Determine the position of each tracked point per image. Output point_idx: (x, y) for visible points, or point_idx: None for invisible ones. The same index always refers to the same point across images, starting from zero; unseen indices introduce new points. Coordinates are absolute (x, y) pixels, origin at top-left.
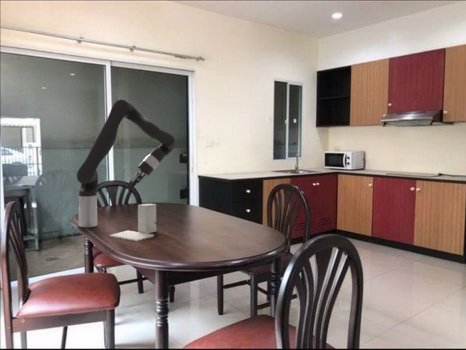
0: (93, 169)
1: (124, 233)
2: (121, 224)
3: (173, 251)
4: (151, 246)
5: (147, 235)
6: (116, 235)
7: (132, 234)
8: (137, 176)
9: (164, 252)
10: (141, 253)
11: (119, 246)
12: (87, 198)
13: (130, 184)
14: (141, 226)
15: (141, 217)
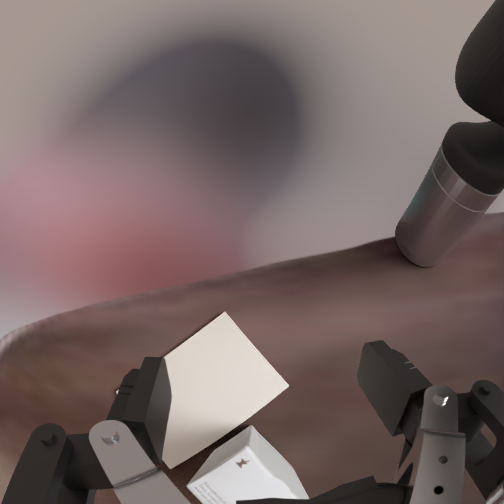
0: (500, 51)
1: (232, 367)
2: (435, 355)
3: (13, 433)
4: (57, 410)
5: (165, 444)
6: (208, 334)
7: (202, 396)
8: (36, 488)
9: (11, 412)
10: (20, 362)
11: (88, 327)
12: (440, 164)
13: (137, 382)
14: (231, 441)
15: (226, 449)
